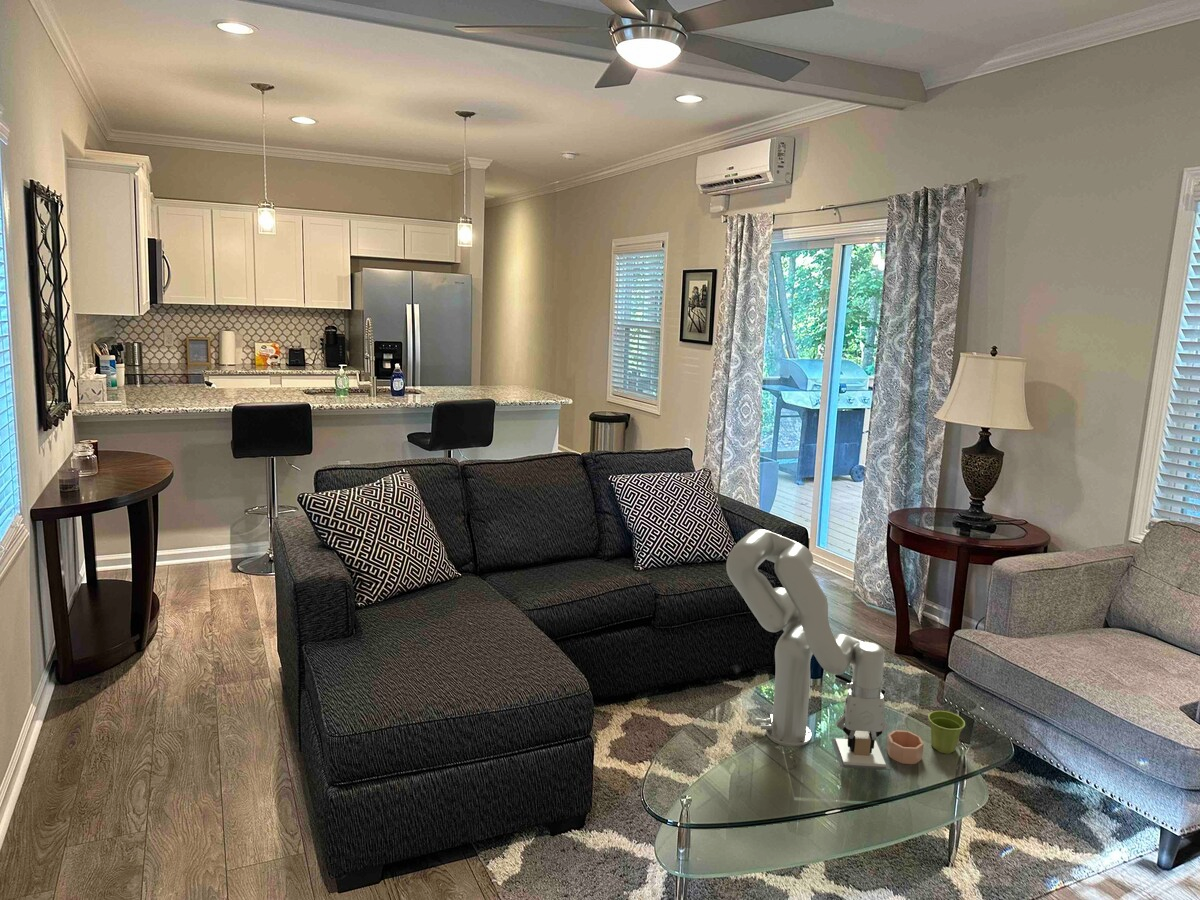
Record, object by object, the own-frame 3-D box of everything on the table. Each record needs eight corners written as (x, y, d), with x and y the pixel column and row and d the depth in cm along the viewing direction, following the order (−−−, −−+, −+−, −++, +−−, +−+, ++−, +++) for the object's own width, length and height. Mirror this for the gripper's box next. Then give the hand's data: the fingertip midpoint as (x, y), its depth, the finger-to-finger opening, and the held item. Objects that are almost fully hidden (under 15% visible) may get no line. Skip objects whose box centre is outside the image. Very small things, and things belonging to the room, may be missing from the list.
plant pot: (964, 759, 227) (968, 731, 225) (928, 755, 229) (931, 726, 227) (957, 740, 236) (961, 712, 234) (922, 736, 238) (925, 708, 236)
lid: (843, 764, 224) (845, 745, 222) (835, 741, 234) (837, 722, 233) (885, 766, 223) (887, 747, 221) (875, 743, 233) (877, 724, 232)
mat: (840, 768, 223) (840, 766, 223) (830, 740, 235) (830, 738, 235) (890, 771, 222) (890, 769, 222) (878, 743, 234) (878, 741, 234)
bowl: (891, 764, 225) (893, 747, 224) (883, 745, 233) (884, 729, 232) (925, 766, 224) (927, 749, 223) (915, 747, 233) (917, 731, 232)
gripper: (837, 694, 221) (831, 756, 225) (902, 697, 220) (895, 759, 224) (831, 680, 228) (826, 740, 232) (894, 683, 227) (888, 743, 231)
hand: (860, 749), depth 228 cm, fingers closed on lid, 4 cm apart
